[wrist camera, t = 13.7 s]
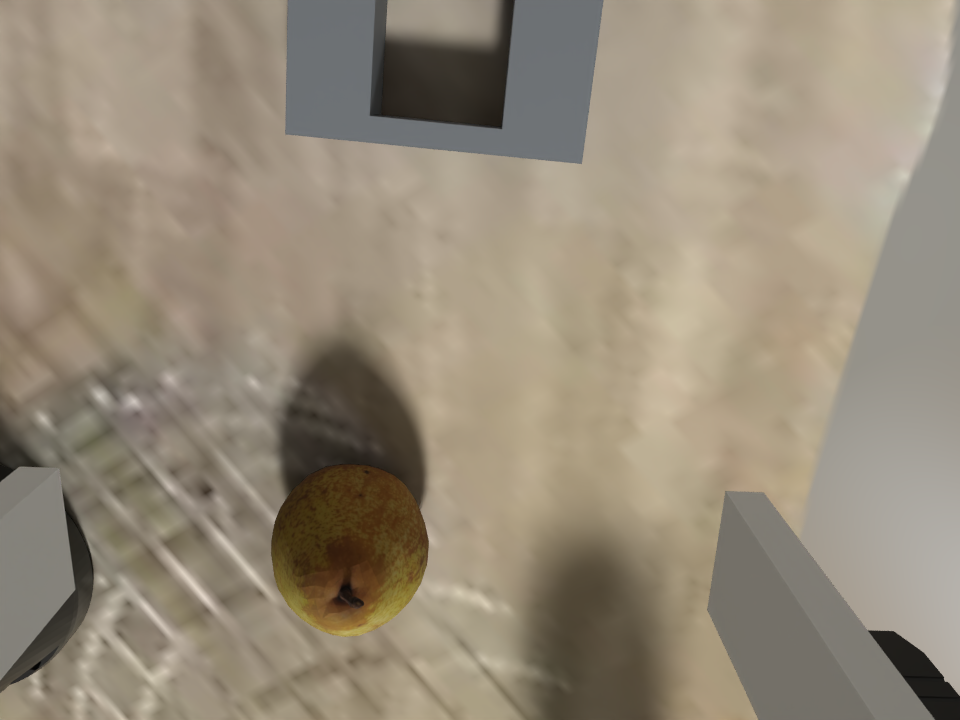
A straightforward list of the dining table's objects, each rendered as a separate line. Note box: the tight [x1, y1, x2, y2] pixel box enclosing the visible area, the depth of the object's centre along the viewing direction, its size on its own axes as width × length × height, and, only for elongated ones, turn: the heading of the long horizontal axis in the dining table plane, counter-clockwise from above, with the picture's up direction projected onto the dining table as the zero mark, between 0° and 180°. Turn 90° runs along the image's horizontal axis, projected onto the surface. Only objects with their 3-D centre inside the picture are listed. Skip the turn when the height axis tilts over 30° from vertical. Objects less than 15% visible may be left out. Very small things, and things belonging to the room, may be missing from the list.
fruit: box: [271, 464, 429, 637], centre depth 42 cm, size 9×9×12 cm
